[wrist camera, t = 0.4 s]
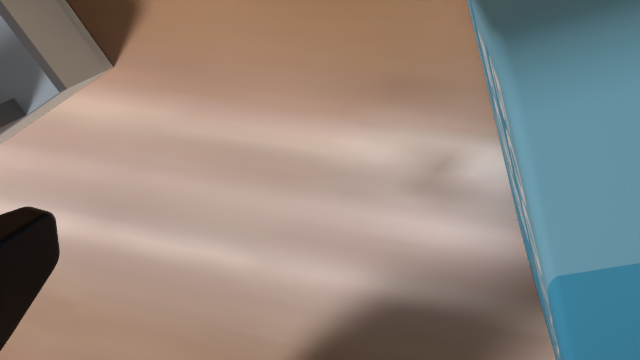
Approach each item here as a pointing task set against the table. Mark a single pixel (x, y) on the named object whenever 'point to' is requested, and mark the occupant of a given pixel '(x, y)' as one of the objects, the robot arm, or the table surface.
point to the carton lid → (22, 74)
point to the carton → (57, 49)
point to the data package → (572, 159)
